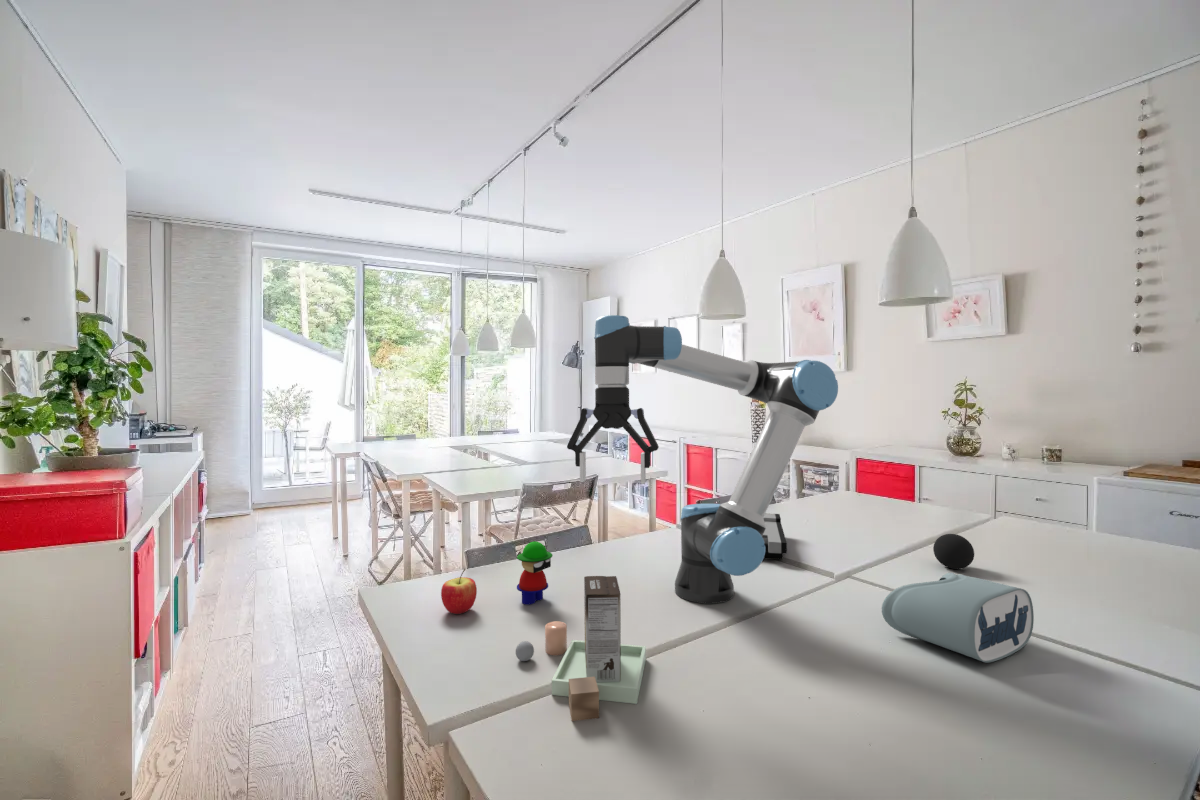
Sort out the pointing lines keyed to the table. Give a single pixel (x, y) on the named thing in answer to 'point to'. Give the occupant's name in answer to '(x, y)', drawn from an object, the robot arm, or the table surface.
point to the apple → (459, 594)
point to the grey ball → (524, 651)
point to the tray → (608, 691)
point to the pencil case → (963, 615)
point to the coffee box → (602, 628)
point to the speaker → (953, 551)
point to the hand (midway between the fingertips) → (612, 482)
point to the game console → (774, 537)
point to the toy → (533, 572)
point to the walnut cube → (583, 698)
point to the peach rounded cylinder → (556, 638)
